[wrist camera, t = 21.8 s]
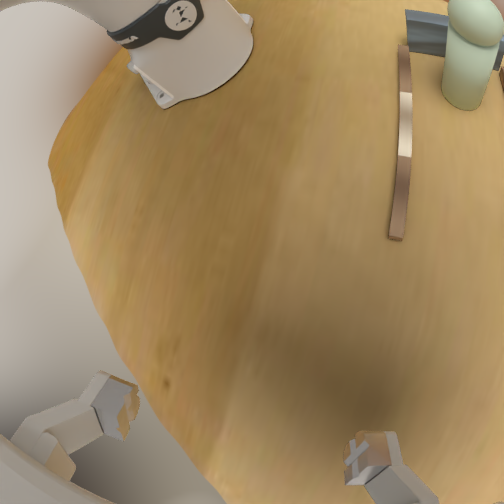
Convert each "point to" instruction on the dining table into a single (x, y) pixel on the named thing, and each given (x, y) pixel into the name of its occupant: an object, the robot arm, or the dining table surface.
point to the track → (422, 41)
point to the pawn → (470, 51)
